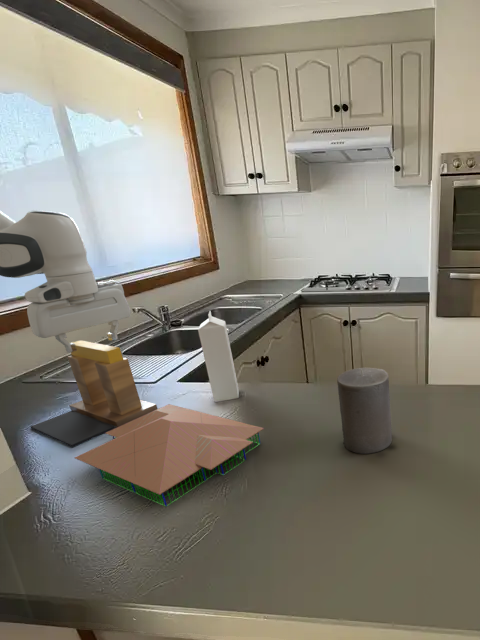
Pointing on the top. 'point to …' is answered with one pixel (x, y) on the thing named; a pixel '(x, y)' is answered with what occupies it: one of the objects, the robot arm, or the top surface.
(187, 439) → the house
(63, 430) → the mat
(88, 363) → the tower
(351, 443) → the pillar candle
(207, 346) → the milk
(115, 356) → the bar
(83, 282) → the robot arm
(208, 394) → the top surface
